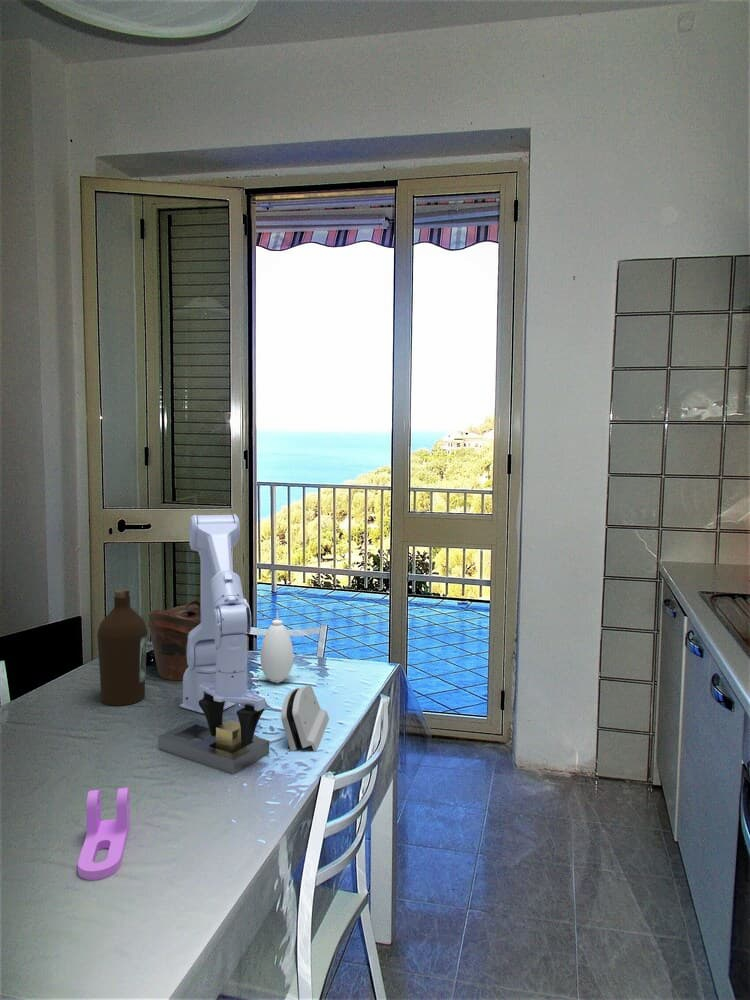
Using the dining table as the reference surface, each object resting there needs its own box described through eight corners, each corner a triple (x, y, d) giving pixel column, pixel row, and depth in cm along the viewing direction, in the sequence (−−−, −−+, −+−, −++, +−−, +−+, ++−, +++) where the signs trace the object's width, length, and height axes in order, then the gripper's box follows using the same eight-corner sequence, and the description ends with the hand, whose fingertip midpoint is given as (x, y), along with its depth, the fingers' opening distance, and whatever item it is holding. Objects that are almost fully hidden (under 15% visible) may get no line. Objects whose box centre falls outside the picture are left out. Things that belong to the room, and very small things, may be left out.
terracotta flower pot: (221, 657, 190) (220, 593, 188) (221, 683, 171) (220, 611, 169) (153, 661, 186) (151, 595, 185) (145, 688, 167) (143, 615, 165)
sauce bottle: (254, 681, 172) (254, 610, 170) (278, 674, 178) (278, 604, 176) (275, 689, 167) (275, 615, 165) (299, 681, 173) (300, 610, 171)
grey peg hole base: (158, 748, 134) (158, 736, 134) (196, 730, 142) (195, 718, 142) (233, 774, 124) (233, 760, 124) (269, 753, 133) (269, 740, 133)
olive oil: (96, 709, 153) (94, 596, 150) (99, 692, 163) (98, 586, 161) (147, 704, 156) (146, 594, 154) (147, 688, 166) (147, 584, 164)
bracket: (91, 830, 106) (90, 786, 105) (129, 826, 107) (129, 782, 107) (74, 883, 93) (73, 833, 93) (118, 878, 95) (117, 829, 94)
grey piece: (316, 752, 134) (299, 703, 133) (293, 759, 134) (276, 710, 134) (329, 718, 150) (314, 674, 150) (309, 724, 151) (294, 681, 150)
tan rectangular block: (230, 750, 134) (230, 720, 133) (246, 755, 132) (246, 724, 131) (216, 758, 130) (216, 727, 130) (232, 763, 128) (232, 732, 128)
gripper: (187, 667, 130) (187, 737, 131) (247, 681, 123) (247, 756, 124) (214, 657, 136) (213, 725, 137) (272, 671, 129) (272, 742, 130)
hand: (231, 739), depth 131 cm, fingers open, 7 cm apart
